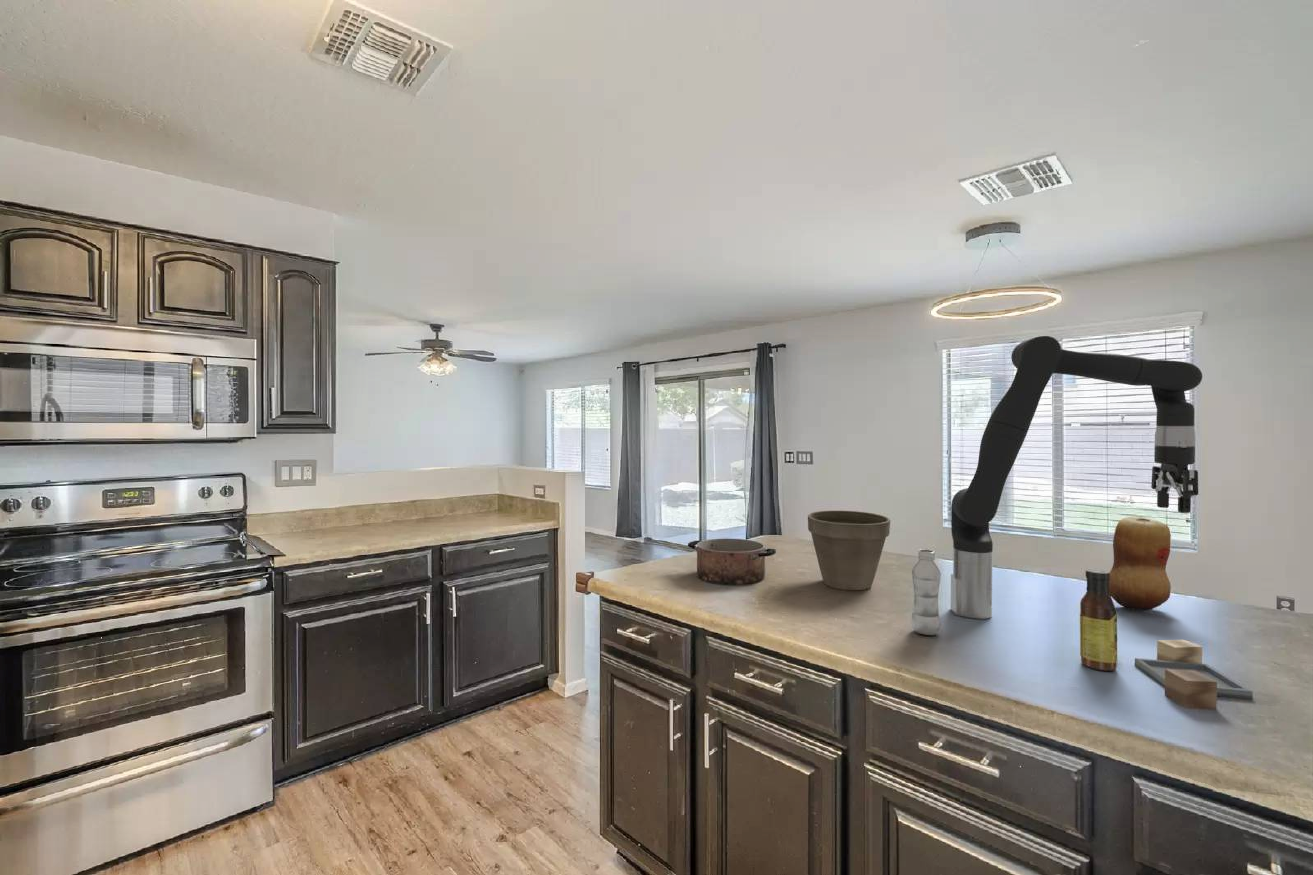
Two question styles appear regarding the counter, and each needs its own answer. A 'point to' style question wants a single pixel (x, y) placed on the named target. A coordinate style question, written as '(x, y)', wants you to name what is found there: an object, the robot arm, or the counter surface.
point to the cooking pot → (731, 561)
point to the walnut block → (1191, 689)
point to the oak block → (1179, 651)
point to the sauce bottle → (1098, 623)
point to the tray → (1224, 683)
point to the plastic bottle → (926, 594)
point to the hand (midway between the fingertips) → (1173, 510)
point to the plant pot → (848, 546)
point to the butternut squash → (1140, 564)
